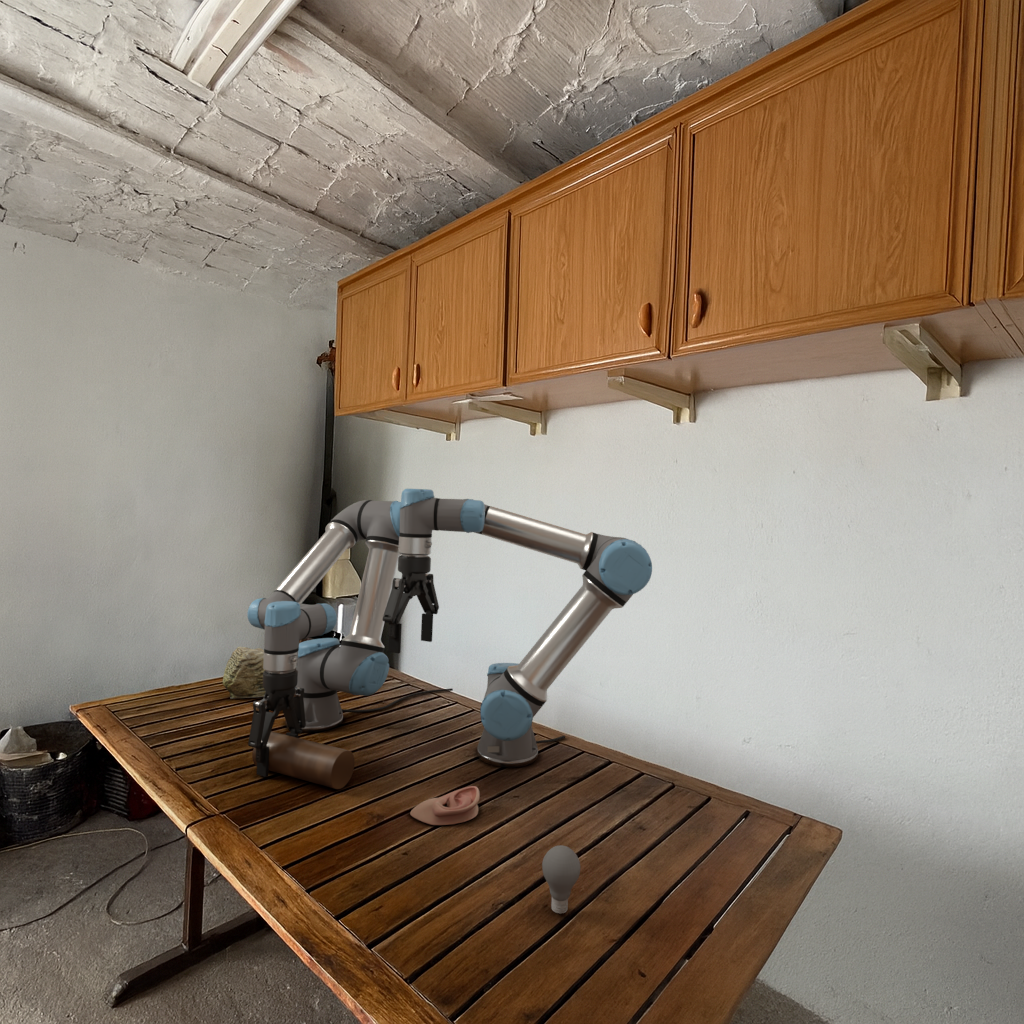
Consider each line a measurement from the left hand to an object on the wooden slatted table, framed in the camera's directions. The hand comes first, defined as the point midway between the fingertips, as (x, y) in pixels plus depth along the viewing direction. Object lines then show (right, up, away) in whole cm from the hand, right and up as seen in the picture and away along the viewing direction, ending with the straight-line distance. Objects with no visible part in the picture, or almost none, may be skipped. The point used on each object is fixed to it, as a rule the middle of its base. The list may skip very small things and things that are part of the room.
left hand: (276, 767), depth 146 cm
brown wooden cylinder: (+7, -1, -3) cm, 8 cm away
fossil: (-26, +2, +52) cm, 59 cm away
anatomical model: (+41, -3, -16) cm, 44 cm away
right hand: (+31, +28, +1) cm, 41 cm away
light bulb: (+62, -4, -46) cm, 77 cm away
